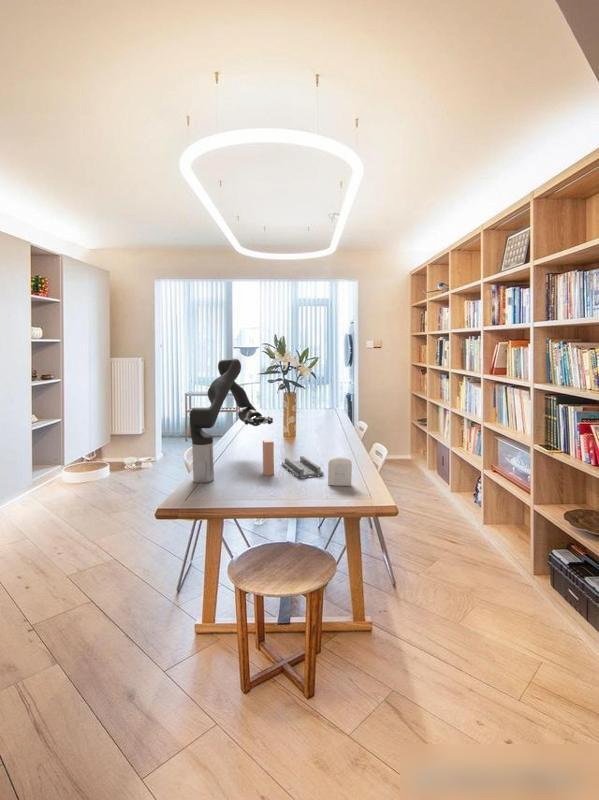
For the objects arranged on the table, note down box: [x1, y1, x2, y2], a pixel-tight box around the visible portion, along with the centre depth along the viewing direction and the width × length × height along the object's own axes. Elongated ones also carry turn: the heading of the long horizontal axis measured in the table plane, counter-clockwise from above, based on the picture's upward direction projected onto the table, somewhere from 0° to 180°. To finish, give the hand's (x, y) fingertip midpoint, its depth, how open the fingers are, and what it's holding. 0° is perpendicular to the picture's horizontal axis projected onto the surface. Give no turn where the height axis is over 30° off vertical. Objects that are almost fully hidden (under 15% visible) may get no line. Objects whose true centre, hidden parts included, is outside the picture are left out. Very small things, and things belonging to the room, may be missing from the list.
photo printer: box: [327, 456, 353, 487], centre depth 182 cm, size 10×4×12 cm, turn 85°
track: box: [281, 455, 324, 479], centre depth 205 cm, size 24×13×4 cm, turn 20°
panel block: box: [262, 439, 275, 476], centre depth 199 cm, size 4×5×16 cm
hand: (261, 422), depth 207 cm, fingers open, 8 cm apart
